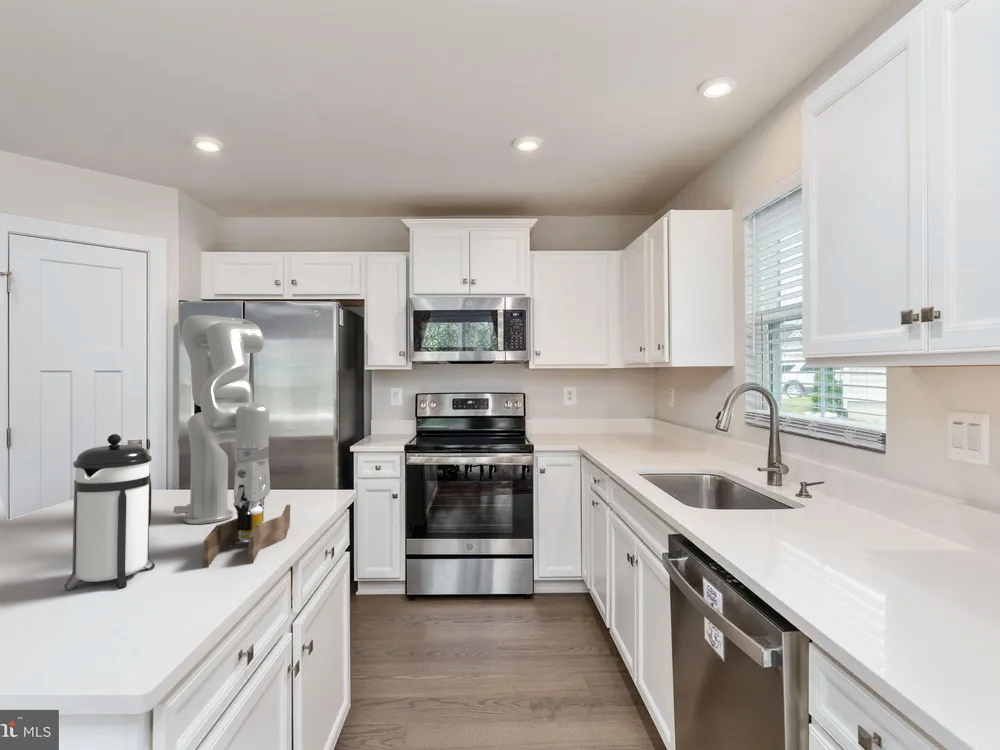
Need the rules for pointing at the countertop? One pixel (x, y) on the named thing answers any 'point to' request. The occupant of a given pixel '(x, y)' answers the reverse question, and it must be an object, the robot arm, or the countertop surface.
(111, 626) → the countertop surface
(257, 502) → the supplement bottle
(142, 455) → the coffee press
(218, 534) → the channel
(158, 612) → the countertop surface
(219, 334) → the robot arm
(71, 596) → the countertop surface
